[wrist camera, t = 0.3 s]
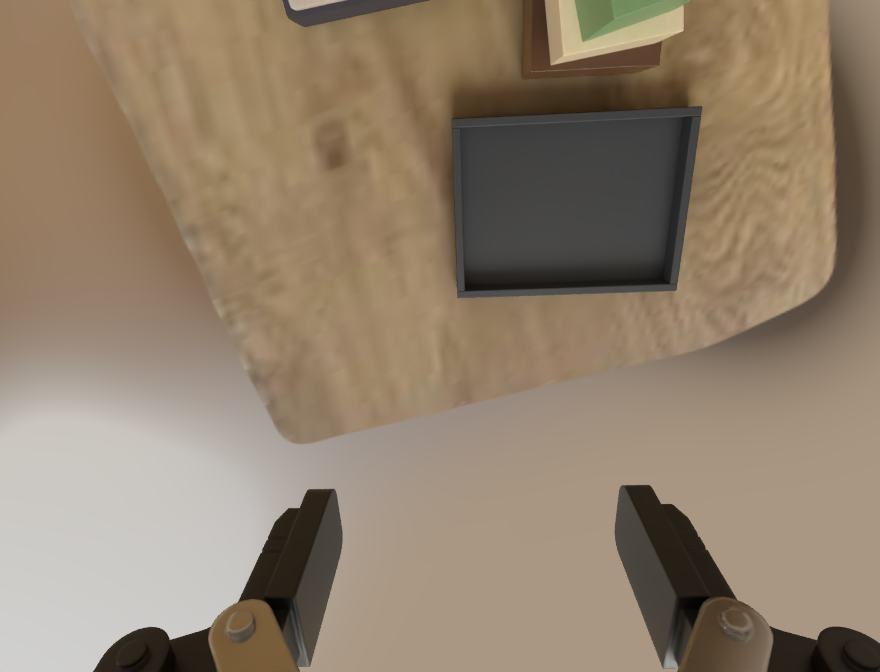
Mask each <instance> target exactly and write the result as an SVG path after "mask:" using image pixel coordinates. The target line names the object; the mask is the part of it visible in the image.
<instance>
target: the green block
mask: <svg viewBox="0 0 880 672" xmlns="http://www.w3.org/2000/svg"><path fill="white" fill-rule="evenodd" d="M689 1H691V0H575V5H576V10H577V15H578V21H579V26H580V32H581V37H582V42H585V41H588V40H591V39H594V38H597V37H599V36H602V35H605V34H608V33H611V32H614V31H616V30H619V29H622V28H625V27H628V26H631V25H633V24H636V23H639V22H642V21H645V20H647V19H650V18H653V17H656V16H659V15H662V14H664V13H667V12H670V11H673V10H675V9H677V8H679V7H681V6H682V5H684V4H686V3H688V2H689Z"/></svg>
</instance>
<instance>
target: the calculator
mask: <svg viewBox="0 0 880 672" xmlns="http://www.w3.org/2000/svg"><path fill="white" fill-rule="evenodd" d="M423 1H428V0H283V3H284V7H285V10H286V14H287V16H288V18H289V19H290V20H292V21H293V22H295V23H297V24H299V25H301V26H304V27H307V26H312V25H317V24H322V23H326V22H331V21H335V20H340V19H345V18H349V17H354V16H358V15H363V14H368V13H372V12H377V11H382V10H386V9H391V8H395V7H400V6H405V5H409V4H414V3H418V2H423Z"/></svg>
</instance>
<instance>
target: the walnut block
mask: <svg viewBox="0 0 880 672" xmlns="http://www.w3.org/2000/svg"><path fill="white" fill-rule="evenodd" d="M661 43H662V41H660V42H657V43H654V44H650V45H645V46H640V47H635V48H631V49H626V50H621V51H616V52H612V53H607V54H602V55H597V56H593V57H588V58H583V59H578V60H574V61H569V62H564V63H559V64H555V65H551V63H550V52H549V41H548V30H547V19H546V8H545V0H523V48H522V79H539V78H557V77H576V76H595V75H614V74H633V73H638V72H641V71H644V70H647V69H650V68H653V67H656V66H659V62H660V53H661Z"/></svg>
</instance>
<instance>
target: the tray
mask: <svg viewBox="0 0 880 672" xmlns="http://www.w3.org/2000/svg"><path fill="white" fill-rule="evenodd" d="M701 112H702V106H698V107H678V108H658V109H638V110H618V111H598V112H577V113H557V114H537V115H517V116H497V117H477V118H457V119H452V141H453V171H454V201H455V232H456V262H457V293H458V298H477V297H506V296H536V295H566V294H596V293H625V292H655V291H676V289H677V283H678V276H679V269H680V261H681V254H682V247H683V240H684V233H685V226H686V219H687V212H688V205H689V198H690V191H691V183H692V176H693V169H694V162H695V155H696V148H697V141H698V134H699V127H700V120H701Z"/></svg>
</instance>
